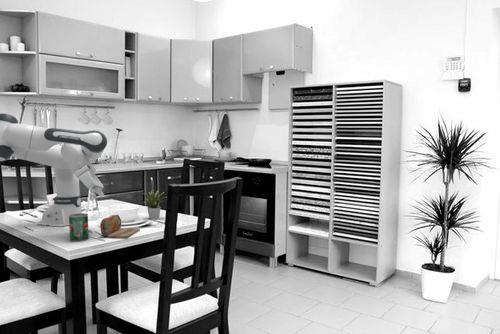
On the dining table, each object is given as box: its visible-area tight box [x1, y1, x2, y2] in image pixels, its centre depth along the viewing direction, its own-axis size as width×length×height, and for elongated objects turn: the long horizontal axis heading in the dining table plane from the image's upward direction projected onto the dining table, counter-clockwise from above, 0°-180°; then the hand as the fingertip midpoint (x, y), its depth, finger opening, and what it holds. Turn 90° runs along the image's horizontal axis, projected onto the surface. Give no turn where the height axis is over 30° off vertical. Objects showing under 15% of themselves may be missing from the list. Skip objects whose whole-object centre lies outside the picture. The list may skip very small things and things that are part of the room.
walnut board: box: [107, 227, 141, 240], centre depth 203 cm, size 9×15×1 cm, turn 172°
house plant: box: [141, 188, 168, 220], centre depth 235 cm, size 14×14×16 cm
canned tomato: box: [68, 213, 90, 243], centre depth 193 cm, size 8×8×11 cm
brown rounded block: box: [99, 214, 122, 237], centre depth 203 cm, size 15×3×8 cm, turn 168°
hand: (102, 196), depth 201 cm, fingers closed
